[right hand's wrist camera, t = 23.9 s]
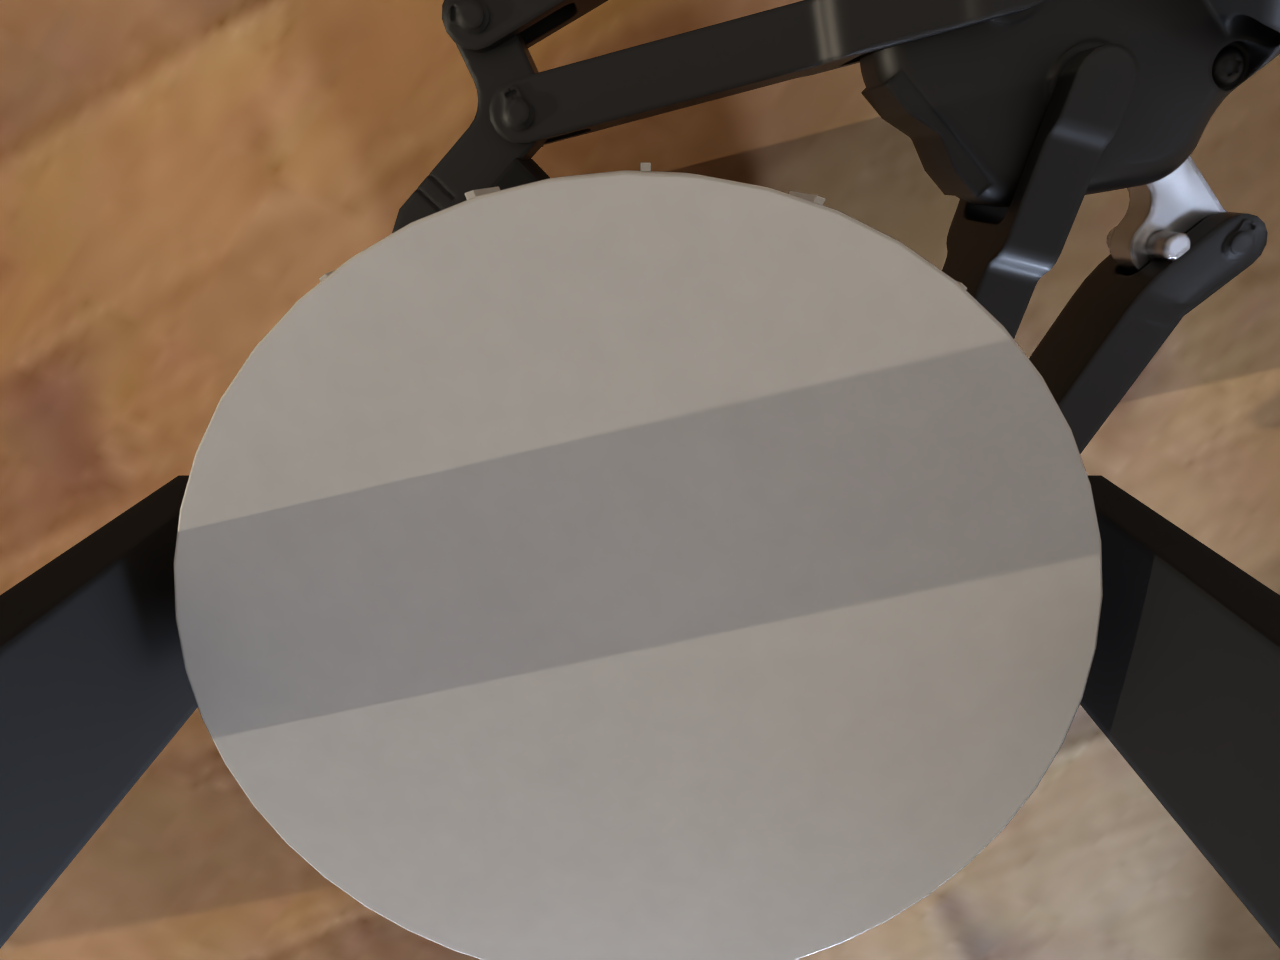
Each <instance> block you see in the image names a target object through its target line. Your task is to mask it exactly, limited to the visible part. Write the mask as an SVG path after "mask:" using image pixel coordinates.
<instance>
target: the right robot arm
mask: <svg viewBox="0 0 1280 960" xmlns="http://www.w3.org/2000/svg"><path fill="white" fill-rule="evenodd" d="M188 479H189V476H177V477H176V478H174V479H173V480H171V481H170V482H169V483H167V484H166V485H164V486H163V487H161V488H160V489H158V490H157V491H155V492H154V493H152V494H151V495H149V496H148V497H146V498H145V499H143V500H142V501H140V502H139V503H137V504H136V505H134V506H133V507H131V508H130V509H128V510H127V511H125V512H124V513H122V514H121V515H119V516H118V517H116V518H115V519H113V520H112V521H110V522H109V523H107V524H106V525H104V526H103V527H102V528H100V529H99V530H97V531H96V532H94V533H93V534H91V535H90V536H88V537H87V538H85V539H84V540H82V541H81V542H79V543H78V544H76V545H75V546H73V547H72V548H70V549H69V550H67V551H66V552H64V553H63V554H61V555H60V556H58V557H57V558H55V559H54V560H52V561H51V562H49V563H48V564H46V565H45V566H43V567H42V568H40V569H39V570H37V571H36V572H34V573H33V574H32V575H30V576H29V577H27V578H26V579H24V580H23V581H21V582H20V583H18V584H17V585H15V586H14V587H12V588H11V589H9V590H8V591H6V592H5V593H3V594H2V595H0V948H1V947H2V946H3V944H4V943H5V942H6V941H7V939H8V938H9V937H10V936H11V935H12V933H13V932H14V931H15V930H16V928H17V927H18V926H19V925H20V924H21V922H22V921H23V920H24V919H25V917H26V916H27V915H28V914H29V913H30V911H31V910H32V909H33V908H34V906H35V905H36V904H37V903H38V902H39V900H40V899H41V898H42V897H43V895H44V894H45V893H46V892H47V891H48V889H49V888H50V887H51V886H52V884H53V883H54V882H55V881H56V880H57V878H58V877H59V876H60V875H61V873H62V872H63V871H64V870H65V869H66V867H67V866H68V865H69V864H70V862H71V861H72V860H73V859H74V857H75V856H76V855H77V854H78V853H79V851H80V850H81V849H82V848H83V846H84V845H85V844H86V843H87V842H88V840H89V839H90V838H91V837H92V835H93V834H94V833H95V832H96V831H97V829H98V828H99V827H100V826H101V824H102V823H103V822H104V821H105V820H106V818H107V817H108V816H109V815H110V813H111V812H112V811H113V810H114V809H115V807H116V806H117V805H118V804H119V802H120V801H121V800H122V799H123V798H124V796H125V795H126V794H127V793H128V791H129V790H130V789H131V788H132V787H133V785H134V784H135V783H136V782H137V780H138V779H139V778H140V777H141V776H142V774H143V773H144V772H145V771H146V769H147V768H148V767H149V766H150V765H151V763H152V762H153V761H154V760H155V758H156V757H157V756H158V755H159V754H160V752H161V751H162V750H163V749H164V747H165V746H166V745H167V744H168V743H169V741H170V740H171V739H172V738H173V736H174V735H175V734H176V733H177V732H178V730H179V729H180V728H181V727H182V725H183V724H184V723H185V722H186V721H187V719H188V718H189V717H190V716H191V714H192V713H193V712H194V711H195V710H196V708H197V707H198V705H197V702H196V699H195V696H194V693H193V690H192V687H191V684H190V681H189V678H188V676H187V673H186V670H185V664H184V659H183V654H182V649H181V643H180V638H179V633H178V627H177V622H176V613H175V586H174V557H175V549H176V540H177V532H178V523H179V515H180V507H181V504H182V500H183V497H184V493H185V490H186V486H187V482H188ZM1088 479H1089V481H1090V484H1091V489H1092V495H1093V500H1094V506H1095V511H1096V516H1097V522H1098V527H1099V532H1100V538H1101V555H1102V590H1103V597H1102V605H1101V613H1100V621H1099V629H1098V637H1097V645H1096V650H1095V654H1094V658H1093V661H1092V665H1091V669H1090V672H1089V676H1088V679H1087V683H1086V687H1085V690H1084V694H1083V697H1082V700H1081V702H1080V705H1081V706H1082V707H1083V708H1084V710H1085V711H1086V712H1087V713H1088V714H1089V716H1090V717H1091V718H1092V719H1093V721H1094V722H1095V723H1096V724H1097V725H1098V727H1099V728H1100V729H1101V730H1102V732H1103V733H1104V734H1105V735H1106V736H1107V738H1108V739H1109V740H1110V741H1111V743H1112V744H1113V745H1114V746H1115V747H1116V749H1117V750H1118V751H1119V752H1120V754H1121V755H1122V756H1123V757H1124V758H1125V760H1126V761H1127V762H1128V763H1129V765H1130V766H1131V767H1132V768H1133V769H1134V771H1135V772H1136V773H1137V774H1138V776H1139V777H1140V778H1141V779H1142V780H1143V782H1144V783H1145V784H1146V785H1147V787H1148V788H1149V789H1150V790H1151V791H1152V793H1153V794H1154V795H1155V796H1156V798H1157V799H1158V800H1159V801H1160V802H1161V804H1162V805H1163V806H1164V807H1165V809H1166V810H1167V811H1168V812H1169V813H1170V815H1171V816H1172V817H1173V818H1174V820H1175V821H1176V822H1177V823H1178V824H1179V826H1180V827H1181V828H1182V829H1183V831H1184V832H1185V833H1186V834H1187V835H1188V837H1189V838H1190V839H1191V840H1192V842H1193V843H1194V844H1195V845H1196V846H1197V848H1198V849H1199V850H1200V851H1201V853H1202V854H1203V855H1204V856H1205V857H1206V859H1207V860H1208V861H1209V862H1210V864H1211V865H1212V866H1213V867H1214V868H1215V870H1216V871H1217V872H1218V873H1219V875H1220V876H1221V877H1222V878H1223V880H1224V881H1225V882H1226V883H1227V884H1228V886H1229V887H1230V888H1231V889H1232V891H1233V892H1234V893H1235V894H1236V895H1237V897H1238V898H1239V899H1240V900H1241V902H1242V903H1243V904H1244V905H1245V906H1246V908H1247V909H1248V910H1249V911H1250V913H1251V914H1252V915H1253V916H1254V917H1255V919H1256V920H1257V921H1258V922H1259V924H1260V925H1261V926H1262V927H1263V928H1264V930H1265V931H1266V932H1267V933H1268V935H1269V936H1270V937H1271V938H1272V939H1273V941H1274V942H1275V943H1276V944H1277V946H1278V947H1279V948H1280V595H1278V594H1277V593H1275V592H1274V591H1272V590H1271V589H1269V588H1268V587H1266V586H1265V585H1263V584H1262V583H1260V582H1259V581H1257V580H1256V579H1254V578H1253V577H1251V576H1250V575H1248V574H1247V573H1246V572H1244V571H1243V570H1241V569H1240V568H1238V567H1237V566H1235V565H1234V564H1232V563H1231V562H1229V561H1228V560H1226V559H1225V558H1223V557H1222V556H1220V555H1219V554H1217V553H1216V552H1214V551H1213V550H1211V549H1210V548H1208V547H1207V546H1205V545H1204V544H1202V543H1201V542H1199V541H1198V540H1196V539H1195V538H1193V537H1192V536H1190V535H1189V534H1187V533H1186V532H1184V531H1183V530H1181V529H1180V528H1178V527H1177V526H1176V525H1174V524H1173V523H1171V522H1170V521H1168V520H1167V519H1165V518H1164V517H1162V516H1161V515H1159V514H1158V513H1156V512H1155V511H1153V510H1152V509H1150V508H1149V507H1147V506H1146V505H1144V504H1143V503H1141V502H1140V501H1138V500H1137V499H1135V498H1134V497H1132V496H1131V495H1129V494H1128V493H1126V492H1125V491H1123V490H1122V489H1120V488H1119V487H1117V486H1116V485H1114V484H1113V483H1111V482H1110V481H1109V480H1107V479H1106V478H1104V477H1103V476H1088Z"/></svg>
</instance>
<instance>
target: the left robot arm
mask: <svg viewBox="0 0 1280 960" xmlns="http://www.w3.org/2000/svg"><path fill="white" fill-rule="evenodd" d="M606 1H608V0H444V3H443V5H442V20H443V23H444V26H445V29H446V32H447V33H448V34H449V35H450V37H451V38H452V39H453V41H454V42H455V43H456V45H457V47H458V49H459V51H460V53H461V55H462V57H463V59H464V61H465V63H466V65H467V67H468V70H469V72H470V74H471V76H472V78H473V80H474V83H475V85H476V88H477V93H478V109H477V113H476V116H475V119H474V121H473V122H472V124H471V125H470V127H469V128H468V129H467V130H466V132H465V133H464V134H463V135H462V136H461V138H460V139H459V140H458V141H457V142H456V143H455V145H454V146H453V147H452V148H451V149H450V150H449V152H448V153H447V154H446V155H445V156H444V158H443V159H442V160H441V161H440V162H439V163H438V165H437V166H436V167H435V168H434V169H433V170H432V172H431V173H430V175H429V176H428V177H427V178H426V179H425V180H424V181H423V182H422V183H421V185H420V186H419V187H418V189H417V190H416V191H415V192H414V193H413V194H412V195H411V196H410V198H409V199H408V200H407V201H406V202H405V203H404V205H403V206H402V207H401V208H400V209H399V213H398V216H397V219H396V222H395V226H394V229H393V232H392V233H394V232H396V231H398V230H399V229H401V228H403V227H404V226H406V225H408V224H410V223H412V222H414V221H416V220H419V219H421V218H424V217H426V216H429V215H431V214H434V213H436V212H439V211H441V210H444V209H446V208H449V207H451V206H454V205H456V204H459V203H461V202H464V201H466V200H467V199H466V196H465V193H466V192H469V191H472V190H477V189H484V188H491V187H499V188H500V190H504V189H508V188H512V187H516V186H520V185H524V184H528V183H532V182H537V181H541V180H545V179H549V178H550V177H549V176H548V175H547V174H546V173H545V172H544V171H543V170H542V169H541V168H540V167H539V166H538V165H537V164H536V163H535V162H534V161H533V160H532V159H531V158H532V157H533V155H534V154H535V153H536V152H537V151H538V150H539V149H540V148H541V147H543V145H545V144H549V143H553V142H556V141H560V140H564V139H568V138H571V137H575V136H579V135H583V134H587V133H590V132H594V131H598V130H602V129H605V128H609V127H613V126H617V125H621V124H624V123H628V122H632V121H636V120H639V119H643V118H647V117H651V116H655V115H658V114H662V113H666V112H670V111H673V110H677V109H681V108H685V107H689V106H692V105H696V104H700V103H704V102H707V101H711V100H715V99H719V98H723V97H726V96H730V95H734V94H738V93H741V92H745V91H749V90H753V89H757V88H760V87H764V86H768V85H772V84H775V83H779V82H783V81H787V80H791V79H794V78H798V77H804V76H809V75H813V74H817V73H821V72H825V71H829V70H833V69H836V68H840V67H844V66H848V65H852V64H855V63H859V62H860V66H861V73H862V76H863V80H864V83H865V85H866V88H865V89H864V90H863V91H862V92H861V93H862V94H863V96H864V97H865V98H866V99H867V100H868V102H869V103H870V104H871V105H872V107H873V108H874V109H875V110H876V111H877V113H878V114H879V115H880V116H881V118H882V119H884V120H885V121H887V122H888V123H890V124H891V125H893V126H894V127H896V128H897V129H899V130H900V131H902V132H903V133H905V134H906V135H908V136H909V137H910V138H911V139H912V141H913V144H914V146H915V148H916V151H917V153H918V155H919V158H920V160H921V162H922V165H923V167H924V169H925V171H926V172H927V174H928V175H929V176H930V177H931V178H932V180H933V181H934V182H935V183H936V185H937V186H938V187H939V188H940V189H941V191H942V192H943V193H944V194H945V195H955V196H957V197H958V198H960V201H959V204H958V207H957V210H956V212H955V215H954V218H953V221H952V224H951V226H950V229H949V233H948V236H947V250H948V253H947V258H946V262H945V264H944V267H943V270H942V271H943V272H944V273H945V274H947V275H948V276H950V277H951V278H953V279H954V280H955V281H958V282H961V283H962V284H963V285H964V286H966V287H967V290H966V291H967V292H968V293H969V294H970V295H971V296H972V297H973V298H974V299H976V300H977V301H978V302H979V303H980V304H981V305H982V306H983V307H984V308H985V309H986V310H987V311H988V312H989V313H990V314H991V315H992V316H993V317H994V318H995V319H996V320H997V321H999V322H1000V323H1001V324H1002V325H1003V326H1004V327H1005V329H1006V330H1007V331H1008V333H1009V334H1010V335H1011V337H1012V338H1013V339H1014V337H1015V335H1016V332H1017V330H1018V327H1019V325H1020V323H1021V320H1022V318H1023V315H1024V313H1025V310H1026V308H1027V305H1028V303H1029V300H1030V298H1031V295H1032V293H1033V290H1034V288H1035V286H1036V284H1037V282H1038V280H1039V279H1040V278H1041V276H1043V275H1044V274H1045V273H1047V272H1048V271H1049V270H1051V268H1052V267H1053V266H1054V264H1055V263H1056V261H1057V259H1058V258H1059V256H1060V254H1061V251H1062V249H1063V246H1064V244H1065V241H1066V239H1067V237H1068V234H1069V232H1070V229H1071V227H1072V224H1073V222H1074V220H1075V217H1076V215H1077V212H1078V210H1079V207H1080V205H1081V202H1082V200H1083V198H1084V195H1087V194H1093V193H1099V192H1105V191H1112V190H1118V189H1124V188H1127V189H1128V191H1129V198H1130V202H1129V208H1128V210H1127V213H1126V215H1125V217H1124V218H1123V219H1122V221H1121V222H1120V223H1119V224H1118V226H1117V227H1115V228H1113V229H1112V230H1111V231H1110V232H1109V234H1108V236H1107V245H1108V247H1109V248H1110V253H1111V254H1110V255H1109V256H1108V257H1107V258H1106V259H1105V260H1103V261H1102V262H1101V263H1100V264H1099V265H1098V266H1097V267H1096V268H1095V269H1094V270H1093V272H1092V273H1091V274H1090V275H1089V276H1088V277H1087V278H1086V279H1085V280H1084V282H1083V283H1082V284H1081V286H1080V287H1079V288H1078V289H1077V291H1076V292H1075V293H1074V295H1073V296H1072V297H1071V299H1070V300H1069V302H1068V303H1067V305H1066V306H1065V308H1064V309H1063V310H1062V312H1061V313H1060V315H1059V316H1058V318H1057V319H1056V320H1055V322H1054V323H1053V325H1052V326H1051V328H1050V329H1049V331H1048V332H1047V333H1046V335H1045V336H1044V338H1043V339H1042V341H1041V342H1040V344H1039V345H1038V346H1037V348H1036V349H1035V351H1034V352H1033V354H1032V355H1031V356H1030V358H1029V360H1030V361H1031V363H1032V364H1033V365H1034V367H1035V368H1036V369H1037V370H1038V372H1039V373H1040V374H1041V376H1042V377H1043V379H1044V381H1045V383H1046V384H1047V386H1048V388H1049V390H1050V392H1051V394H1052V395H1053V397H1054V399H1055V401H1056V403H1057V405H1058V406H1059V408H1060V410H1061V412H1062V414H1063V416H1064V418H1065V419H1066V421H1067V423H1068V425H1069V427H1070V429H1071V431H1072V434H1073V436H1074V439H1075V442H1076V445H1077V448H1078V450H1079V453H1080V454H1081V452H1082V451H1083V450H1084V448H1085V447H1086V446H1087V444H1088V443H1089V442H1090V440H1091V439H1092V438H1093V436H1094V435H1095V434H1096V432H1097V431H1098V430H1099V428H1100V427H1101V426H1102V424H1103V423H1104V422H1105V420H1106V419H1107V418H1108V416H1109V415H1110V414H1111V412H1112V411H1113V410H1114V408H1115V407H1116V406H1117V404H1118V403H1119V402H1120V400H1121V399H1122V398H1123V396H1124V395H1125V394H1126V392H1127V391H1128V390H1129V388H1130V387H1131V386H1132V384H1133V383H1134V382H1135V380H1136V379H1137V378H1138V376H1139V375H1140V374H1141V372H1142V371H1143V370H1144V368H1145V367H1146V365H1147V364H1148V363H1149V361H1150V360H1151V359H1152V357H1153V356H1154V355H1155V353H1156V352H1157V351H1158V349H1159V348H1160V347H1161V345H1162V344H1163V343H1164V341H1165V340H1166V339H1167V337H1168V336H1169V335H1170V333H1171V332H1172V331H1173V329H1174V328H1175V327H1176V325H1177V324H1178V323H1179V321H1180V320H1181V319H1182V317H1183V316H1184V315H1186V314H1187V313H1188V312H1190V311H1191V310H1192V309H1194V308H1195V307H1196V306H1197V305H1199V304H1200V303H1201V302H1203V301H1204V300H1205V299H1207V298H1208V297H1209V296H1211V295H1212V294H1213V293H1215V292H1216V291H1217V290H1218V289H1220V288H1221V287H1222V286H1224V285H1225V284H1226V283H1228V282H1229V281H1230V280H1232V279H1233V278H1234V277H1236V276H1237V275H1238V274H1239V273H1241V272H1242V271H1243V270H1245V269H1246V268H1247V267H1249V266H1250V265H1251V264H1252V263H1253V262H1254V261H1255V260H1256V259H1257V258H1258V257H1259V256H1260V255H1261V253H1262V251H1263V249H1264V247H1265V245H1266V241H1267V230H1266V227H1265V224H1264V222H1263V221H1262V220H1261V219H1259V218H1258V217H1257V216H1254V215H1250V214H1245V213H1233V212H1227V211H1225V210H1224V209H1223V207H1222V206H1221V204H1220V203H1219V201H1218V199H1217V198H1216V196H1215V195H1214V193H1213V192H1212V190H1211V188H1210V187H1209V185H1208V184H1207V182H1206V181H1205V179H1204V177H1203V176H1202V174H1201V173H1200V171H1199V170H1198V168H1197V166H1196V165H1195V163H1194V162H1193V160H1192V159H1191V157H1190V155H1191V153H1192V152H1193V150H1194V149H1195V147H1196V146H1197V144H1198V142H1199V139H1200V137H1201V135H1202V133H1203V131H1204V129H1205V127H1206V125H1207V123H1208V121H1209V120H1210V118H1211V116H1212V115H1213V113H1214V112H1215V110H1216V109H1217V107H1218V106H1219V105H1220V104H1221V102H1222V101H1223V100H1224V99H1225V97H1226V96H1227V95H1228V94H1229V93H1230V92H1232V91H1233V90H1234V89H1235V88H1236V87H1237V86H1239V85H1240V84H1241V83H1243V82H1244V81H1245V80H1247V79H1248V78H1249V77H1251V76H1252V75H1253V74H1254V73H1256V72H1257V71H1258V70H1260V69H1261V68H1262V67H1264V66H1265V65H1266V64H1268V63H1269V62H1270V61H1271V60H1273V59H1274V58H1275V57H1276V56H1278V55H1279V54H1280V0H804V1H800V2H796V3H793V4H789V5H785V6H782V7H778V8H774V9H771V10H767V11H763V12H760V13H756V14H752V15H749V16H745V17H741V18H738V19H734V20H730V21H727V22H723V23H719V24H716V25H712V26H708V27H705V28H701V29H697V30H694V31H690V32H686V33H683V34H679V35H675V36H672V37H668V38H664V39H661V40H657V41H653V42H650V43H646V44H642V45H639V46H635V47H631V48H628V49H624V50H620V51H617V52H613V53H609V54H606V55H602V56H598V57H595V58H591V59H587V60H584V61H580V62H576V63H573V64H569V65H565V66H562V67H558V68H554V69H550V70H547V71H543V72H538V70H537V68H536V66H535V63H534V61H533V59H532V57H531V55H530V53H529V50H528V48H529V47H531V46H532V45H534V44H536V43H537V42H539V41H541V40H542V39H544V38H546V37H547V36H549V35H551V34H552V33H554V32H556V31H557V30H559V29H561V28H562V27H564V26H566V25H567V24H569V23H571V22H572V21H574V20H576V19H578V18H579V17H581V16H583V15H584V14H586V13H588V12H589V11H591V10H593V9H594V8H596V7H598V6H599V5H601V4H603V3H604V2H606Z"/></svg>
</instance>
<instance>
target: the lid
mask: <svg viewBox="0 0 1280 960" xmlns="http://www.w3.org/2000/svg"><path fill="white" fill-rule="evenodd" d="M465 196H466V199H467V200H466V201H464V202H461V203H459V204H456V205H454V206H451V207H449V208H446V209H444V210H441V211H439V212H436V213H434V214H431V215H429V216H426V217H424V218H421V219H419V220H416V221H414V222H412V223H410V224H408V225H406V226H404V227H403V228H401V229H399V230H398V231H396V232H394V233H392V234H391V235H389V236H387V237H386V238H384V239H382V240H380V241H379V242H377V243H375V244H374V245H372V246H370V247H368V248H367V249H365V250H363V251H362V252H360V253H358V254H356V255H355V256H353V257H351V258H350V259H349V260H347V261H346V262H345V263H344V264H342V265H341V266H340V267H339V268H338V269H336V270H335V271H332V272H329V273H326V274H324V275H323V276H322V277H321V278H320V279H319V280H320V281H321V282H320V283H319V284H318V285H316V286H315V287H314V288H313V289H311V290H310V291H309V292H308V293H306V294H305V295H304V296H303V297H301V298H300V299H299V300H298V301H297V302H296V303H295V304H294V305H293V306H292V307H291V309H290V310H289V311H288V312H287V313H286V314H285V315H284V316H283V317H282V318H281V319H280V321H279V322H278V323H277V324H276V325H275V326H274V327H273V328H272V329H271V330H270V331H269V333H268V334H267V335H266V336H265V337H264V338H263V339H262V340H261V341H260V342H259V343H258V344H257V346H256V347H255V348H254V349H253V351H252V352H251V354H250V355H249V357H248V358H247V360H246V361H245V363H244V364H243V366H242V367H241V369H240V370H239V372H238V373H237V375H236V376H235V378H234V379H233V381H232V382H231V384H230V385H229V387H228V388H227V390H226V391H225V393H224V394H223V396H222V397H221V399H220V401H219V403H218V406H217V408H216V410H215V412H214V414H213V416H212V419H211V421H210V423H209V425H208V427H207V430H206V432H205V434H204V436H203V438H202V440H201V443H200V445H199V447H198V449H197V451H196V454H195V458H194V461H193V465H192V468H191V472H190V475H189V479H188V482H187V486H186V490H185V493H184V497H183V500H182V504H181V507H180V515H179V523H178V532H177V540H176V549H175V557H174V586H175V613H176V622H177V627H178V633H179V638H180V643H181V649H182V654H183V659H184V664H185V670H186V673H187V676H188V678H189V681H190V684H191V687H192V690H193V693H194V696H195V699H196V702H197V705H198V708H199V710H200V713H201V716H202V719H203V721H204V723H205V725H206V727H207V729H208V731H209V733H210V735H211V737H212V739H213V741H214V743H215V745H216V747H217V749H218V751H219V753H220V755H221V757H222V759H223V761H224V763H225V764H226V766H227V767H228V769H229V770H230V772H231V773H232V775H233V776H234V778H235V779H236V781H237V782H238V783H239V785H240V786H241V788H242V789H243V791H244V792H245V794H246V795H247V797H248V798H249V800H250V801H251V803H252V804H253V805H254V807H255V808H256V809H257V810H258V811H259V812H260V814H261V815H262V816H263V817H264V818H265V819H266V820H267V821H268V823H269V824H270V825H271V826H272V827H273V828H274V829H275V831H276V832H277V833H278V834H279V835H280V836H281V837H282V838H283V840H284V841H285V842H286V843H287V844H288V845H289V846H290V847H291V848H292V849H294V850H295V851H296V852H297V853H298V854H299V855H300V856H301V857H302V858H304V859H305V860H306V861H307V862H308V863H309V864H310V865H311V866H313V867H314V868H315V869H316V870H317V871H318V872H319V873H320V874H321V875H323V876H324V877H325V878H326V879H328V880H329V881H330V882H332V883H333V884H335V885H336V886H337V887H339V888H340V889H342V890H343V891H344V892H346V893H347V894H349V895H350V896H352V897H353V898H354V899H356V900H357V901H359V902H360V903H361V904H363V905H364V906H366V907H367V908H369V909H371V910H373V911H375V912H376V913H378V914H380V915H382V916H383V917H385V918H387V919H389V920H391V921H392V922H394V923H396V924H398V925H399V926H401V927H403V928H405V929H406V930H408V931H411V932H413V933H415V934H417V935H420V936H422V937H424V938H427V939H429V940H431V941H433V942H436V943H438V944H440V945H443V946H445V947H447V948H450V949H452V950H454V951H457V952H460V953H463V954H467V955H470V956H473V957H476V958H479V959H482V960H797V959H799V958H802V957H805V956H808V955H810V954H813V953H816V952H818V951H821V950H824V949H827V948H829V947H832V946H835V945H837V944H840V943H843V942H845V941H847V940H849V939H851V938H853V937H855V936H857V935H859V934H861V933H863V932H865V931H867V930H869V929H871V928H873V927H876V926H878V925H880V924H882V923H884V922H886V921H888V920H889V919H891V918H892V917H894V916H896V915H897V914H899V913H901V912H902V911H904V910H905V909H907V908H909V907H910V906H912V905H913V904H915V903H917V902H918V901H920V900H921V899H923V898H925V897H926V896H928V895H929V894H931V893H932V892H933V891H934V890H936V889H937V888H938V887H940V886H941V885H942V884H943V883H945V882H946V881H947V880H948V879H950V878H951V877H952V876H954V875H955V874H956V873H957V872H959V871H960V870H961V869H962V868H964V867H965V866H966V865H968V864H969V863H970V862H971V861H972V860H973V859H974V858H975V857H976V856H977V855H978V854H979V853H980V852H981V851H982V850H983V849H984V848H985V847H986V846H987V845H988V844H989V843H990V842H991V841H992V840H993V839H994V838H995V837H996V836H997V835H998V834H999V833H1000V832H1001V831H1002V830H1003V829H1004V828H1005V827H1006V826H1007V824H1008V823H1009V822H1010V820H1011V819H1012V818H1013V817H1014V815H1015V814H1016V813H1017V812H1018V810H1019V809H1020V808H1021V807H1022V805H1023V804H1024V803H1025V802H1026V800H1027V799H1028V798H1029V796H1030V795H1031V794H1032V793H1033V791H1034V790H1035V789H1036V787H1037V786H1038V784H1039V782H1040V781H1041V779H1042V777H1043V776H1044V774H1045V772H1046V771H1047V769H1048V767H1049V766H1050V764H1051V762H1052V761H1053V759H1054V757H1055V756H1056V754H1057V753H1058V751H1059V749H1060V748H1061V746H1062V744H1063V741H1064V739H1065V737H1066V735H1067V732H1068V730H1069V728H1070V725H1071V723H1072V721H1073V718H1074V716H1075V714H1076V712H1077V709H1078V707H1079V705H1080V702H1081V700H1082V697H1083V694H1084V690H1085V687H1086V683H1087V679H1088V676H1089V672H1090V669H1091V665H1092V661H1093V658H1094V654H1095V650H1096V645H1097V637H1098V629H1099V621H1100V613H1101V605H1102V597H1103V590H1102V555H1101V538H1100V532H1099V527H1098V522H1097V516H1096V511H1095V506H1094V500H1093V495H1092V489H1091V484H1090V481H1089V479H1088V476H1087V473H1086V470H1085V467H1084V465H1083V462H1082V459H1081V456H1080V453H1079V450H1078V448H1077V445H1076V442H1075V439H1074V436H1073V434H1072V431H1071V429H1070V427H1069V425H1068V423H1067V421H1066V419H1065V418H1064V416H1063V414H1062V412H1061V410H1060V408H1059V406H1058V405H1057V403H1056V401H1055V399H1054V397H1053V395H1052V394H1051V392H1050V390H1049V388H1048V386H1047V384H1046V383H1045V381H1044V379H1043V377H1042V376H1041V374H1040V373H1039V372H1038V370H1037V369H1036V368H1035V367H1034V365H1033V364H1032V363H1031V361H1030V360H1029V359H1028V357H1027V356H1026V355H1025V353H1024V352H1023V351H1022V350H1021V348H1020V347H1019V346H1018V344H1017V343H1016V342H1015V340H1014V339H1013V338H1012V337H1011V335H1010V334H1009V333H1008V331H1007V330H1006V329H1005V327H1004V326H1003V325H1002V324H1001V323H1000V322H999V321H997V320H996V319H995V318H994V317H993V316H992V315H991V314H990V313H989V312H988V311H987V310H986V309H985V308H984V307H983V306H982V305H981V304H980V303H979V302H978V301H977V300H976V299H974V298H973V297H972V296H971V295H970V294H969V293H968V292H967V291H966V290H967V287H966V286H964V285H963V284H962V283H961V282H958V281H955V280H954V279H953V278H951V277H950V276H948V275H947V274H945V273H944V272H943V271H941V270H940V269H938V268H937V267H935V266H934V265H933V264H931V263H930V262H928V261H927V260H926V259H924V258H923V257H921V256H920V255H918V254H917V253H916V252H914V251H913V250H911V249H910V248H908V247H907V246H906V245H904V244H903V243H901V242H900V241H898V240H896V239H894V238H892V237H890V236H888V235H886V234H884V233H882V232H880V231H878V230H876V229H874V228H872V227H870V226H868V225H866V224H864V223H862V222H860V221H858V220H856V219H854V218H852V217H850V216H848V215H846V214H844V213H842V212H840V211H838V210H835V209H832V208H829V207H826V206H823V204H824V201H825V198H823V197H821V196H818V195H813V194H807V193H801V192H795V191H789V193H788V194H787V193H784V192H781V191H778V190H775V189H772V188H769V187H764V186H758V185H753V184H747V183H742V182H737V181H731V180H726V179H720V178H715V177H709V176H704V175H698V174H692V173H683V172H658V171H651V163H641V164H640V171H633V170H623V171H613V172H603V173H593V174H583V175H573V176H564V177H556V178H549V179H545V180H541V181H537V182H532V183H528V184H524V185H520V186H516V187H512V188H508V189H504V190H500V188H499V187H491V188H484V189H477V190H472V191H469V192H466V193H465Z"/></svg>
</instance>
